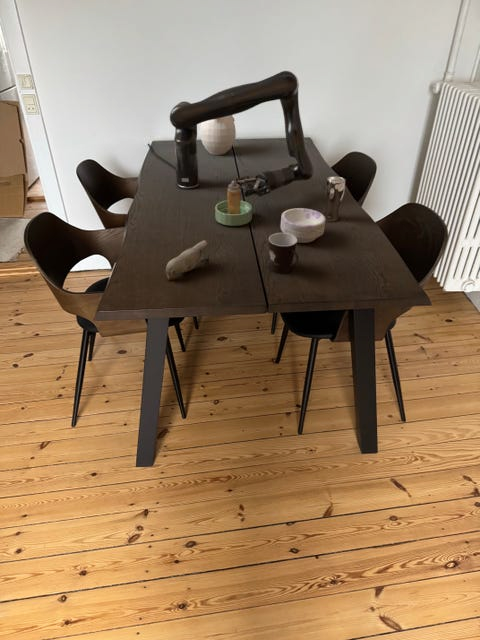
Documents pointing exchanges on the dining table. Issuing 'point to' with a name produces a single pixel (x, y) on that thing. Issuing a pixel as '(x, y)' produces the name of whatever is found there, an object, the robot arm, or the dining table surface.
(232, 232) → the dining table surface
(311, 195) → the dining table surface
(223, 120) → the pitcher
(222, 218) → the serving bowl
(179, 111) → the robot arm
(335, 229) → the dining table surface
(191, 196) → the dining table surface
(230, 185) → the pepper mill
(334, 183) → the beer glass
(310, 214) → the paper bowls
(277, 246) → the coffee mug
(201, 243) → the decorative bird
